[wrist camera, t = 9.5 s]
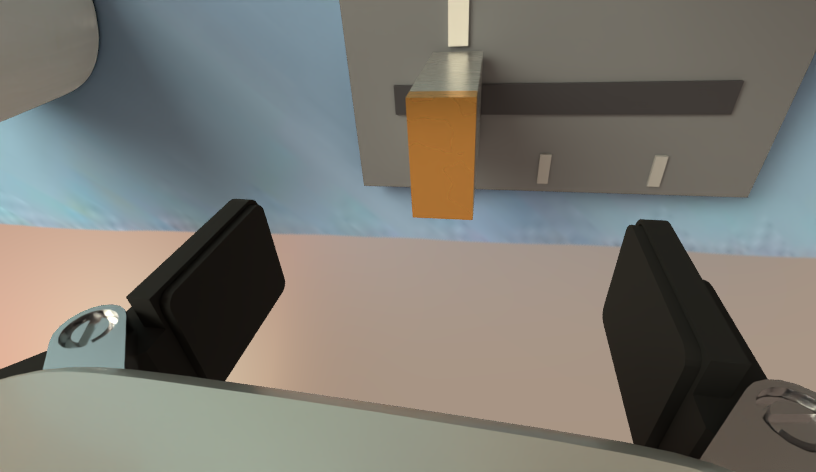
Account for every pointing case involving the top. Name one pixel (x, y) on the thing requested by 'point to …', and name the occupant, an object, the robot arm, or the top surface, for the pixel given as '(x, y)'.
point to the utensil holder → (44, 51)
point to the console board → (590, 88)
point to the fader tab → (445, 135)
